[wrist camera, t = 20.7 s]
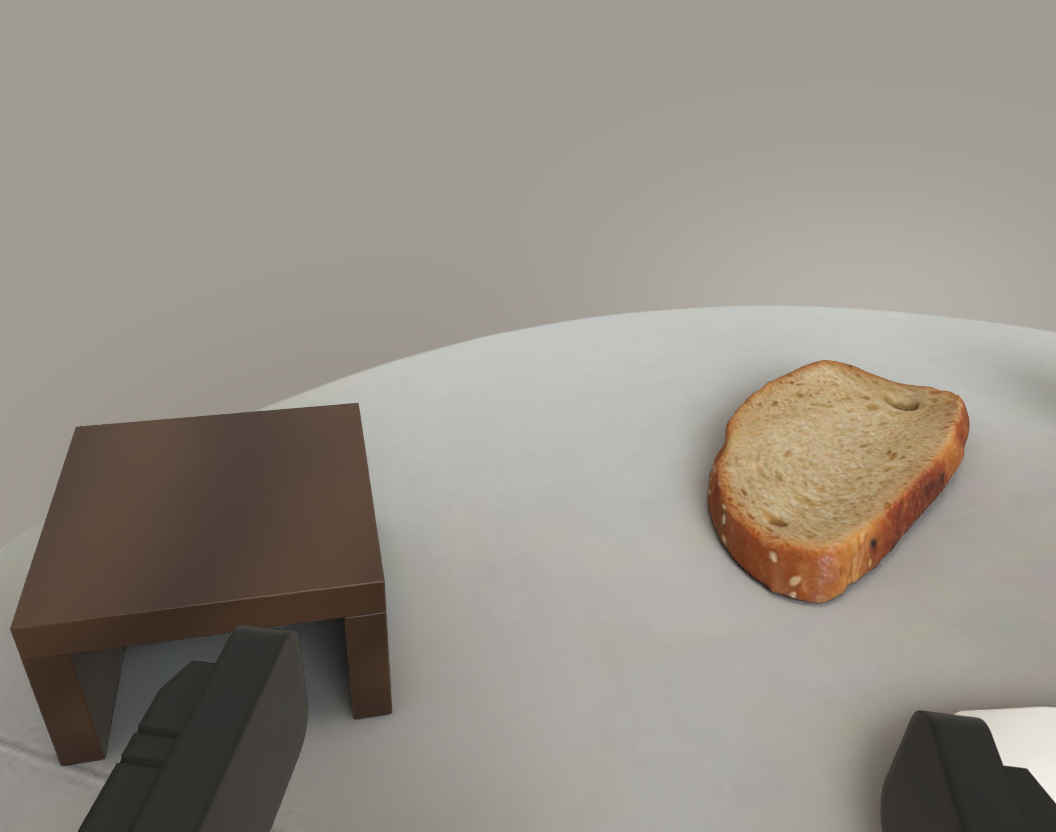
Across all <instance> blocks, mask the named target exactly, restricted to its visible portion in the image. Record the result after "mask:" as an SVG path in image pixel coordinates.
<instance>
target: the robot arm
mask: <svg viewBox="0 0 1056 832" xmlns="http://www.w3.org/2000/svg"><path fill="white" fill-rule="evenodd" d="M307 717H308V704H307V696H306V688H305V680H304V673H303V665H302V657H301V649H300V642H299V637H298V634H297V633H296V632H295V631H288V630H280V629H272V628H264V627H255V626H247V625H240V626H238V627H237V628H236V629H235V630H234V631H233V632H232V634H231V636H230V637H229V639H228V641H227V643H226V645H225V647H224V649H223V651H222V653H221V655H220V656H219V658H218V660H217V662H216V664H215V663H207V662H199V661H191V662H190V663H189V664H188V665H187V666H186V667H185V668H183V669H182V670H181V671H180V672H179V673H178V674H177V675H176V676H174V677H173V678H172V679H171V680H170V681H169V682H168V683H166V684H165V685H164V686H163V687H162V688H161V689H160V690H159V691H158V693H157V695H156V696H155V698H154V700H153V701H152V703H151V705H150V707H149V708H148V710H147V712H146V714H145V715H144V717H143V719H142V721H141V722H140V724H139V728H138V732H137V733H134V734H133V736H132V738H131V740H130V741H129V743H128V745H127V747H126V748H125V750H124V752H123V754H122V755H121V756H122V758H121V761H120V763H117V764H116V766H115V767H114V769H113V771H112V773H111V774H110V776H109V778H108V780H107V781H106V783H105V785H104V787H103V788H102V790H101V792H100V794H99V795H98V797H97V799H96V800H95V802H94V804H93V806H92V807H91V809H90V811H89V813H88V814H87V816H86V818H85V820H84V821H83V823H82V825H81V827H80V828H79V830H78V832H270V830H271V827H272V825H273V822H274V820H275V817H276V814H277V812H278V809H279V807H280V804H281V801H282V799H283V796H284V794H285V791H286V788H287V786H288V783H289V781H290V778H291V775H292V773H293V770H294V768H295V765H296V762H297V760H298V757H299V754H300V751H301V748H302V745H303V741H304V737H305V732H306V726H307ZM881 824H882V831H883V832H1056V803H1055V802H1054V800H1053V799H1052V798H1051V797H1050V796H1049V794H1048V793H1047V792H1046V791H1045V790H1044V788H1043V787H1042V786H1041V785H1040V783H1039V782H1038V781H1037V780H1036V779H1035V777H1034V776H1033V775H1032V774H1031V773H1030V771H1029V770H1028V769H1027V768H1020V767H1012V766H1004V765H1003V763H1002V760H1001V757H1000V755H999V752H998V749H997V747H996V744H995V741H994V738H993V736H992V733H991V731H990V729H989V727H988V725H987V724H986V723H985V721H984V720H982V719H981V718H978V717H970V716H962V715H954V714H946V713H938V712H930V711H921V710H919V711H916V712H915V713H914V714H913V716H912V718H911V720H910V722H909V724H908V727H907V729H906V731H905V734H904V736H903V739H902V741H901V743H900V746H899V748H898V750H897V753H896V755H895V757H894V760H893V762H892V765H891V767H890V769H889V772H888V774H887V776H886V779H885V782H884V785H883V789H882V795H881Z"/></svg>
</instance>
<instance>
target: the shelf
mask: <svg viewBox="0 0 1056 832" xmlns="http://www.w3.org/2000/svg"><path fill="white" fill-rule="evenodd" d="M343 617H344V623H345V634H346V644H347V655H348V666H349V677H350V687H351V698H352V709H353V718H354V719H360V718H366V717H373V716H379V715H385V714H391V713H392V700H391V683H390V666H389V649H388V631H387V614H386V597H385V581H384V574H383V567H382V560H381V553H380V546H379V540H378V533H377V526H376V519H375V512H374V505H373V498H372V491H371V484H370V478H369V471H368V464H367V457H366V450H365V443H364V436H363V429H362V423H361V416H360V409H359V404H358V403H352V404H340V405H328V406H316V407H304V408H292V409H281V410H269V411H257V412H245V413H233V414H222V415H210V416H198V417H186V418H175V419H163V420H151V421H140V422H129V423H128V422H127V423H117V424H116V423H115V424H103V425H93V426H80V427H76V428H75V431H74V434H73V437H72V440H71V443H70V447H69V450H68V453H67V456H66V459H65V462H64V465H63V468H62V471H61V474H60V477H59V480H58V483H57V487H56V490H55V493H54V496H53V499H52V502H51V505H50V508H49V511H48V514H47V517H46V520H45V523H44V526H43V530H42V533H41V536H40V539H39V542H38V545H37V548H36V551H35V554H34V557H33V560H32V563H31V566H30V569H29V573H28V576H27V579H26V582H25V585H24V588H23V591H22V594H21V597H20V600H19V603H18V606H17V609H16V612H15V616H14V619H13V622H12V625H11V628H10V630H11V633H12V635H13V638H14V641H15V643H16V646H17V649H18V651H19V654H20V657H21V660H22V662H23V665H24V668H25V671H26V673H27V676H28V679H29V681H30V684H31V687H32V689H33V692H34V695H35V697H36V700H37V703H38V705H39V708H40V711H41V713H42V716H43V719H44V722H45V724H46V727H47V730H48V732H49V735H50V738H51V740H52V743H53V746H54V748H55V751H56V754H57V756H58V759H59V762H60V765H61V766H63V765H70V764H76V763H82V762H89V761H95V760H101V759H104V758H105V752H106V747H107V741H108V736H109V730H110V725H111V719H112V714H113V708H114V702H115V697H116V691H117V686H118V680H119V675H120V669H121V664H122V658H123V653H124V647H126V646H134V645H141V644H149V643H156V642H164V641H171V640H179V639H186V638H194V637H201V636H209V635H216V634H223V633H231V632H233V631H234V630H235V629H236V628H237V627H238V626H240V625H247V626H255V627H264V628H268V627H276V626H283V625H291V624H298V623H306V622H313V621H321V620H328V619H335V618H343Z"/></svg>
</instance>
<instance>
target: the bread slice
mask: <svg viewBox="0 0 1056 832" xmlns="http://www.w3.org/2000/svg"><path fill="white" fill-rule="evenodd" d="M968 433H969V417H968V413H967V410H966V407H965V404H964V402H963V400H962V399H961V398H960V397H959V394H958V395H955V394H954V393H951V392H949V391H940V390H937V389H935V388H932V387H925V386H915V385H907V384H900V383H896V382H893V381H890V380H887V379H884V378H881V377H879V376H876V375H873V374H871V373H868V372H865V371H863V370H861V369H859V368H858V367H855V366H852V365H848V364H845V363H840V362H836V361H828V360H823V361H817V362H814V363H811V364H808V365H805V366H803V367H801V368H799V369H797V370H795V371H793V372H790V373H788V374H786V375H784V376H782V377H780V378H778V379H776V380H773V381H771V382H769V383H767V384H766V385H765V386H764V387H763V388H762V389H760V390H759V391H757V392H755V393H753V394H751V396H750V397H749V398H748V399H747V400H746V401H745V402H744V404H742V405H741V406H740V407H739V408H738V409H737V410H736V412H735V414H734V415H733V416H732V417H731V418H730V420H729V421H728V423H727V427H726V436H725V443H724V446H723V448H722V449H721V450H720V452H719V453H718V454H717V456H716V458H715V461H714V465H713V468H712V470H711V472H710V476H709V490H708V507H709V512H710V514H711V517H712V520H713V525H714V527H715V529H716V530H717V532H718V535H719V537H720V540H721V542H722V543H723V544H724V546H725V547H726V548H727V549H728V550H729V552H730V553H731V555H732V556H733V558H734V559H735V560H736V561H737V562H738V563H739V564H740V565H741V566H742V567H743V568H744V569H745V570H746V571H747V572H748V573H749V574H750V575H752V576H753V577H754V578H755V579H757V580H759V581H760V582H762V583H764V584H765V585H766V586H768V587H769V589H770V590H771V591H772V592H773V593H778V594H782V595H785V596H788V597H790V598H793V599H798V600H803V601H807V602H813V603H822V602H826V601H829V600H831V599H833V598H835V597H838V596H840V595H841V594H842V593H843V592H844V591H845V589H846V588H847V587H848V586H849V585H850V584H853V583H855V582H856V581H858V580H859V579H860V578H861V577H862V576H863V575H864V574H866V573H867V572H868V571H870V570H873V569H875V568H876V567H877V566H878V564H879V563H880V561H881V560H882V558H883V557H884V556H885V555H886V554H887V553H889V552H890V551H891V550H892V549H893V548H894V547H895V545H896V543H897V542H898V540H899V539H900V538H901V537H902V535H903V534H904V533H905V532H906V531H907V530H908V529H909V528H910V526H911V525H912V524H913V523H914V522H915V521H916V520H917V519H918V517H920V516H921V514H922V513H923V512H924V511H925V510H926V509H927V508H928V507H929V506H930V504H931V503H932V502H933V501H934V500H935V499H936V498H937V496H938V495H939V494H940V493H941V491H942V490H943V489H944V487H945V486H946V484H947V483H948V481H949V480H950V478H951V477H952V475H953V474H954V473H955V471H956V470H957V469H958V467H959V465H960V463H961V461H962V459H963V456H964V446H965V443H966V440H967V438H968Z"/></svg>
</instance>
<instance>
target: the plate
mask: <svg viewBox="0 0 1056 832" xmlns="http://www.w3.org/2000/svg"><path fill="white" fill-rule="evenodd" d="M954 715H962V716H970V717H978V718H981V719H982V720H984V721H985V723H986V724H987V725H988V727H989V729H990V731H991V733H992V736H993V738H994V741H995V744H996V747H997V749H998V752H999V755H1000V757H1001V760H1002V763H1003V765H1004V766H1012V767H1020V768H1027V769H1028V770H1029V771H1030V773H1031V774H1032V775H1033V776H1034V777H1035V779H1036V780H1037V781H1038V782H1039V783H1040V785H1041V786H1042V787H1043V788H1044V790H1045V791H1046V792H1047V793H1048V794H1049V796H1050V797H1051V798H1052V799H1053V800H1054V802H1055V803H1056V707H1023V708H1006V709H989V710H972V711H960V712H957V713H955V714H954Z"/></svg>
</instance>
